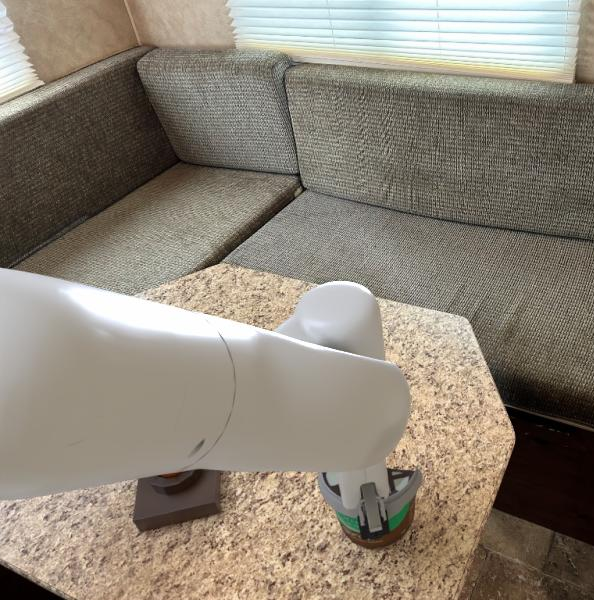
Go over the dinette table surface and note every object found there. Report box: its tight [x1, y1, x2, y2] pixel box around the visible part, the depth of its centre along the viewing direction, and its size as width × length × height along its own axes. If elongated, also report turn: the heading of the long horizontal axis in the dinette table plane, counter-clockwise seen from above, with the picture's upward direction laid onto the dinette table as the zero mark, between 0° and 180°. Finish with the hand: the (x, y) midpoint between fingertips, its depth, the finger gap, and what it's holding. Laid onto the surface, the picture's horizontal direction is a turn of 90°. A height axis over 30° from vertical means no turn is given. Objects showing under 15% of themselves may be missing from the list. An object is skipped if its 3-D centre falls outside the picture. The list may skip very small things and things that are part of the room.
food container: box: [317, 465, 424, 549], centre depth 70 cm, size 12×6×10 cm, turn 80°
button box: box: [132, 469, 222, 533], centre depth 80 cm, size 12×10×4 cm
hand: (369, 503), depth 69 cm, fingers closed on food container, 7 cm apart
